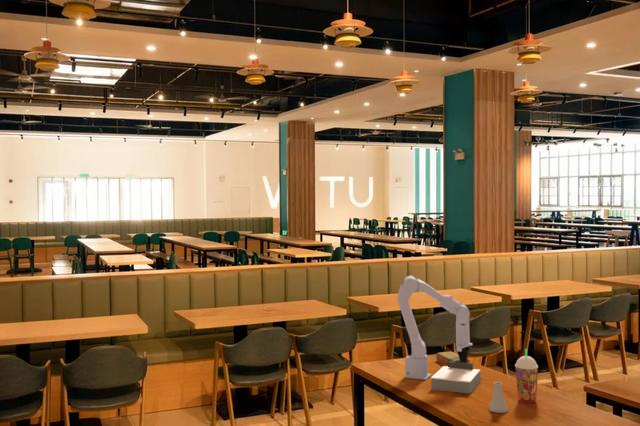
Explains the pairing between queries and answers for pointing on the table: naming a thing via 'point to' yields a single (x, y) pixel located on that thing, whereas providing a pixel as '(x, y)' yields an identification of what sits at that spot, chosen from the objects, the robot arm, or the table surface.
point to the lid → (457, 372)
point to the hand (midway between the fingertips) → (463, 364)
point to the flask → (498, 400)
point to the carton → (448, 357)
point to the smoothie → (526, 378)
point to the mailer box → (456, 385)
